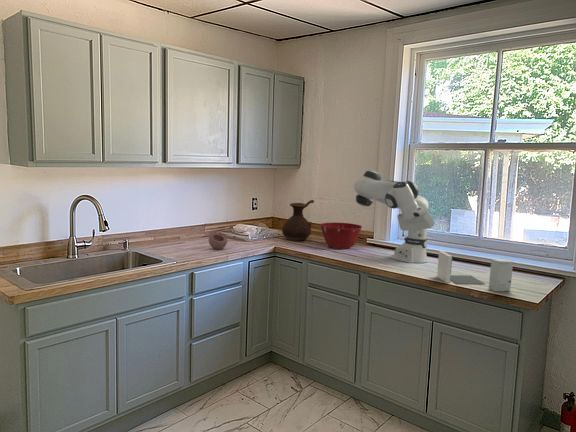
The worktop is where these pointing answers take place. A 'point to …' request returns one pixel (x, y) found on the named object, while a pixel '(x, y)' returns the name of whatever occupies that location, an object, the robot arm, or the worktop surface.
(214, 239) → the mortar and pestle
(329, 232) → the mixing bowl
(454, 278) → the mat
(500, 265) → the skincare box
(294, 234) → the jug
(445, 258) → the tile
